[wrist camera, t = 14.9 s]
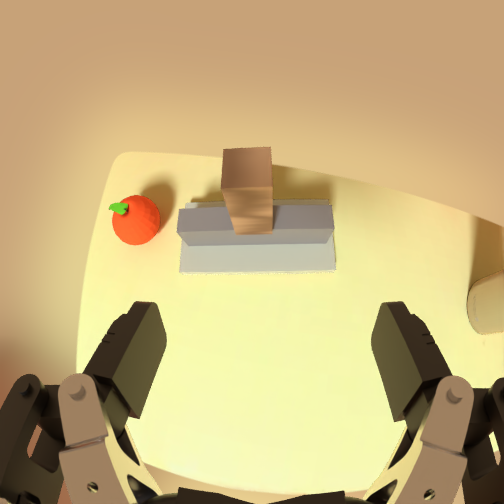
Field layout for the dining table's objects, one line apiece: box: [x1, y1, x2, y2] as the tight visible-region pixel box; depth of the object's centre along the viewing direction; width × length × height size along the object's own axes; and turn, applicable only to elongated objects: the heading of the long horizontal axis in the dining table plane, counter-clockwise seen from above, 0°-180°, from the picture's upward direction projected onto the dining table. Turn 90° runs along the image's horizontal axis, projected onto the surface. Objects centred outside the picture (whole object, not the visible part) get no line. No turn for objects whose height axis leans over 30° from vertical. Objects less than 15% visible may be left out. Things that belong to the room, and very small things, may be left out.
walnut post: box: [221, 147, 273, 235], centre depth 26 cm, size 4×4×10 cm
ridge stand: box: [177, 199, 336, 275], centre depth 34 cm, size 20×10×6 cm, turn 90°
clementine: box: [109, 195, 160, 245], centre depth 35 cm, size 8×7×7 cm
